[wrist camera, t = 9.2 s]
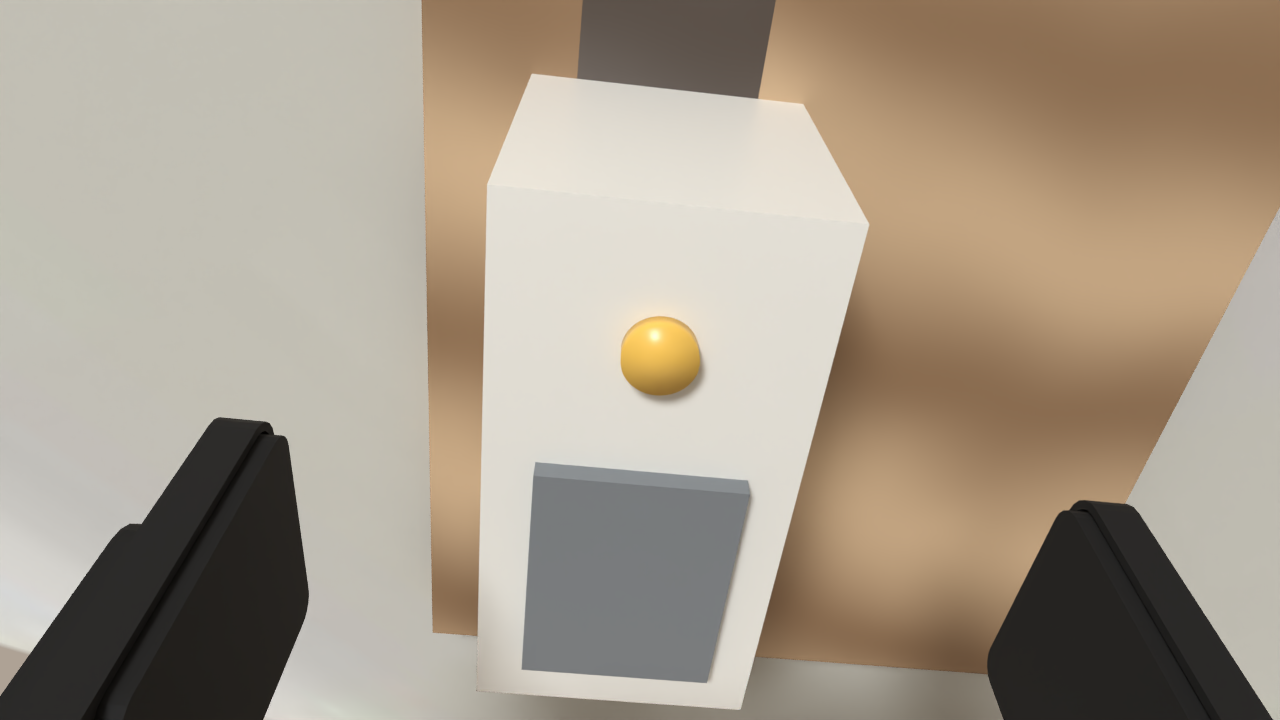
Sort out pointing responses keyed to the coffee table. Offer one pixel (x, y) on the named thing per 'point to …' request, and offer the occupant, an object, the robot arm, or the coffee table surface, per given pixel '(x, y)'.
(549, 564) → the stud finder
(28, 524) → the coffee table surface
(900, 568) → the subfloor board
